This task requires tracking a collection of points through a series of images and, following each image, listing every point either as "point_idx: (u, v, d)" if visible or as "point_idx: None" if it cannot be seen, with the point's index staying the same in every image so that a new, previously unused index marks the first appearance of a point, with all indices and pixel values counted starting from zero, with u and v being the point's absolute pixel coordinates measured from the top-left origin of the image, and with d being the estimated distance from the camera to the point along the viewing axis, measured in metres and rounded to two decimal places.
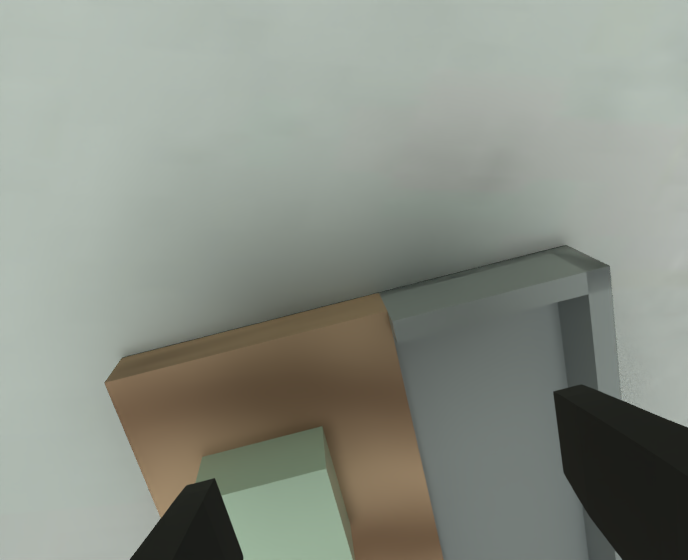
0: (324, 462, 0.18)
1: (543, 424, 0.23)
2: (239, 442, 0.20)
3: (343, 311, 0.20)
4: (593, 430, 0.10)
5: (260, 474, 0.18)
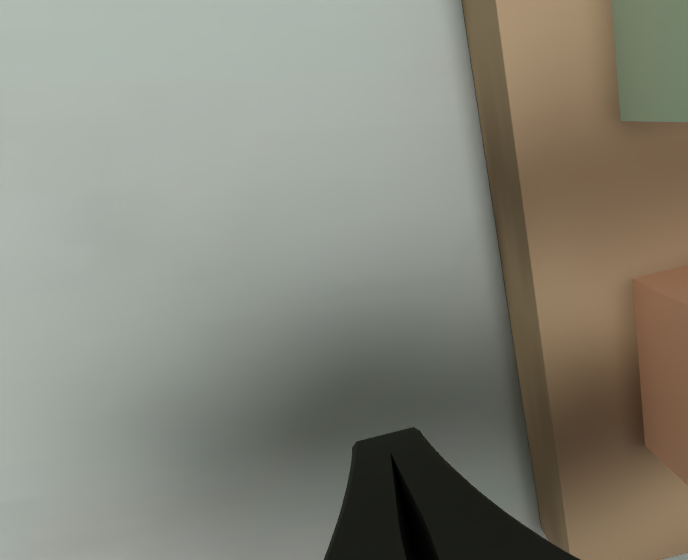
0: None
1: None
2: None
3: None
4: (401, 480, 0.10)
5: None
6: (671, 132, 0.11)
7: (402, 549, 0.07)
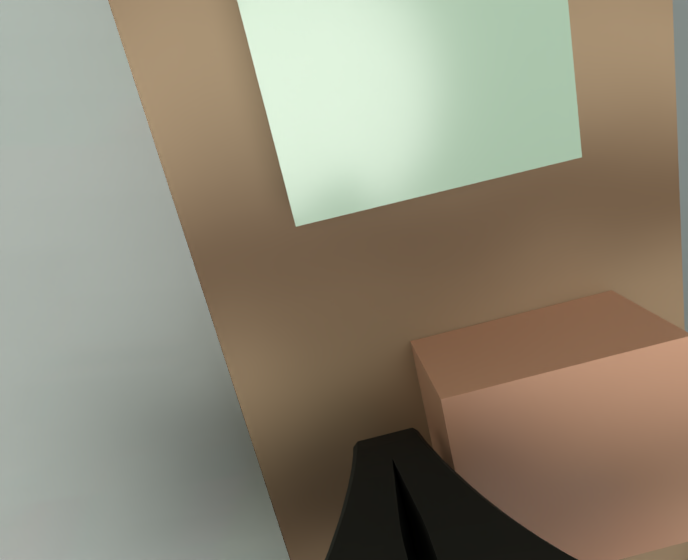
0: None
1: None
2: None
3: None
4: (399, 480, 0.10)
5: None
6: None
7: (403, 549, 0.07)
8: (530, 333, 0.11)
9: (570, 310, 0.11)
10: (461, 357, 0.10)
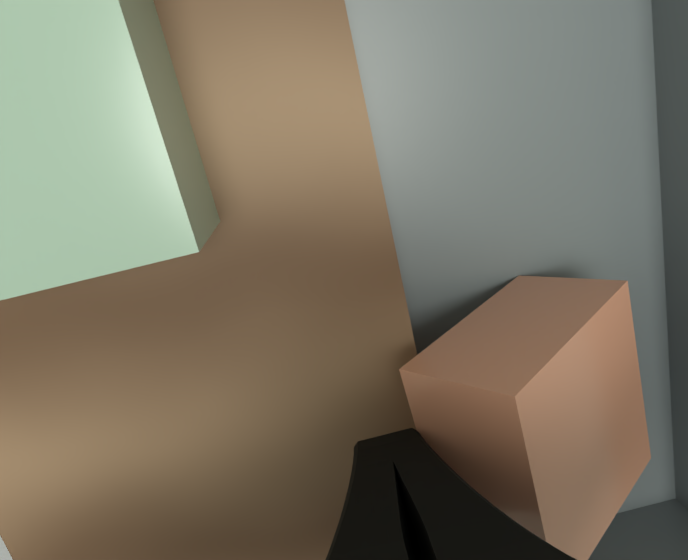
0: None
1: (600, 68, 0.12)
2: None
3: None
4: (399, 480, 0.10)
5: None
6: None
7: (404, 549, 0.07)
8: (506, 322, 0.11)
9: (510, 297, 0.12)
10: (476, 360, 0.10)
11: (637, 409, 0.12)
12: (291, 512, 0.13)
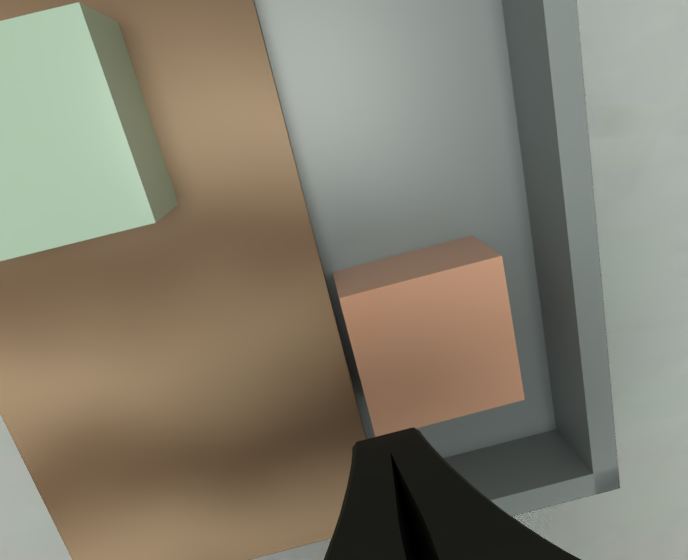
0: None
1: (470, 87, 0.16)
2: None
3: None
4: (400, 480, 0.10)
5: None
6: (58, 253, 0.14)
7: (402, 549, 0.07)
8: (408, 262, 0.16)
9: (440, 248, 0.17)
10: (360, 277, 0.16)
11: (505, 355, 0.15)
12: (240, 430, 0.17)
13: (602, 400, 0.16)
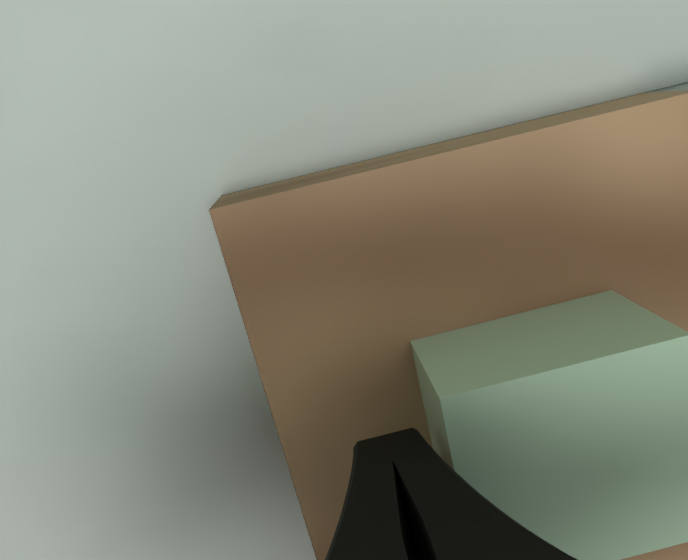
0: (677, 327, 0.10)
1: None
2: (426, 329, 0.12)
3: (605, 107, 0.12)
4: (399, 480, 0.10)
5: (555, 352, 0.10)
6: None
7: (403, 549, 0.07)
8: None
9: None
10: None
11: None
12: None
13: None
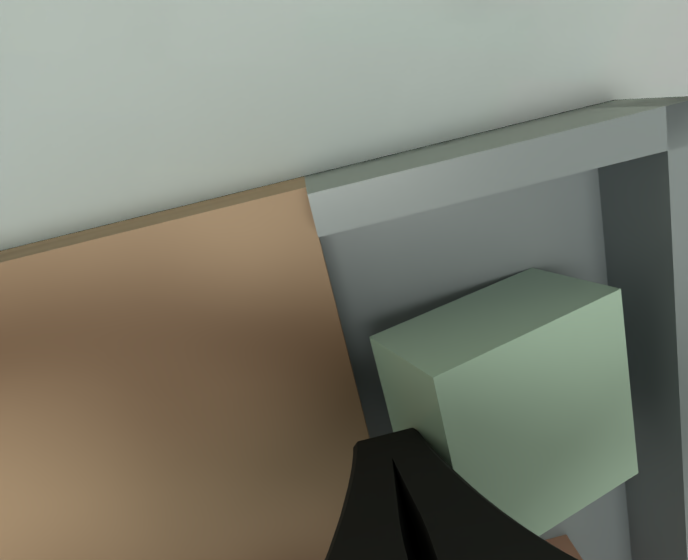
0: (605, 286, 0.11)
1: None
2: (58, 421, 0.12)
3: (236, 197, 0.11)
4: (399, 480, 0.10)
5: (515, 320, 0.11)
6: None
7: (403, 549, 0.07)
8: None
9: None
10: None
11: None
12: None
13: None
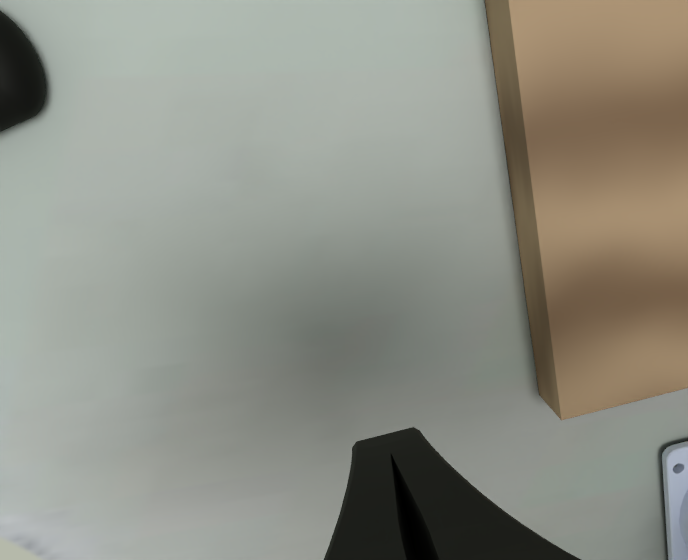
0: None
1: None
2: None
3: None
4: (400, 480, 0.10)
5: None
6: (622, 103, 0.18)
7: (402, 549, 0.07)
8: None
9: None
10: None
11: None
12: None
13: None
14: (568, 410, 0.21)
